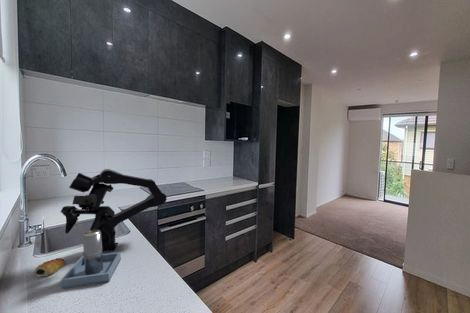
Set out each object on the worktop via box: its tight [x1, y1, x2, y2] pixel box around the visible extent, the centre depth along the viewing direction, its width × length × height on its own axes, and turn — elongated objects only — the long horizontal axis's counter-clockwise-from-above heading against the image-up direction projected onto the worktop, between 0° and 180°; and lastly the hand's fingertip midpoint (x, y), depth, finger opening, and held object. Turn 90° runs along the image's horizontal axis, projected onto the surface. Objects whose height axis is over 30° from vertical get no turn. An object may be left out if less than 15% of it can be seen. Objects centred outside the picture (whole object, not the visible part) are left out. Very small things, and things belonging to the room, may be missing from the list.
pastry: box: [32, 257, 66, 278], centre depth 80 cm, size 9×7×4 cm
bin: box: [60, 252, 122, 289], centre depth 78 cm, size 14×14×3 cm
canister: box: [82, 229, 104, 275], centre depth 78 cm, size 6×6×15 cm
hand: (78, 233), depth 80 cm, fingers open, 9 cm apart
